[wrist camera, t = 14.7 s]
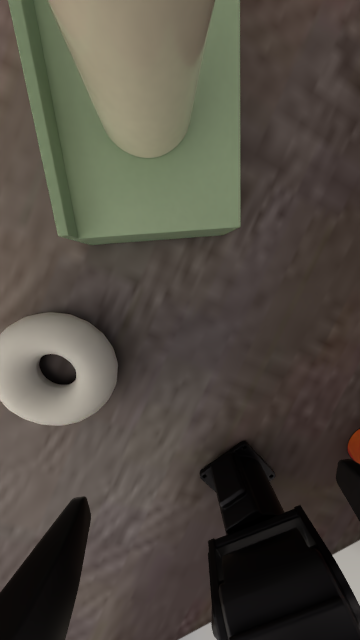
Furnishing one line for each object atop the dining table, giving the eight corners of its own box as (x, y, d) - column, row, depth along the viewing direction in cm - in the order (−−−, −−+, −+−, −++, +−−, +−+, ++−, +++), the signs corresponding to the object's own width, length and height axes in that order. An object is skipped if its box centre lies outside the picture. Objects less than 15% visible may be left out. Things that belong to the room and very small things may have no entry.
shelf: (223, 235, 18) (249, 223, 12) (90, 245, 17) (57, 236, 12) (217, -31, 14) (253, -220, 8) (41, -31, 13) (-43, -236, 8)
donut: (141, 345, 20) (37, 285, 17) (138, 362, 16) (9, 290, 14) (88, 423, 21) (-13, 377, 19) (76, 452, 18) (-49, 401, 16)
